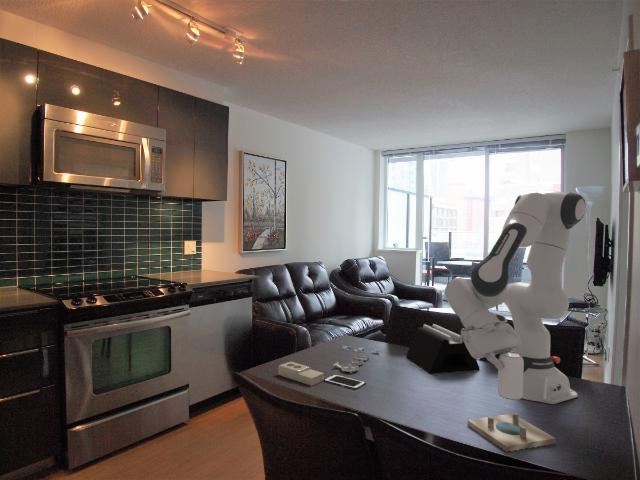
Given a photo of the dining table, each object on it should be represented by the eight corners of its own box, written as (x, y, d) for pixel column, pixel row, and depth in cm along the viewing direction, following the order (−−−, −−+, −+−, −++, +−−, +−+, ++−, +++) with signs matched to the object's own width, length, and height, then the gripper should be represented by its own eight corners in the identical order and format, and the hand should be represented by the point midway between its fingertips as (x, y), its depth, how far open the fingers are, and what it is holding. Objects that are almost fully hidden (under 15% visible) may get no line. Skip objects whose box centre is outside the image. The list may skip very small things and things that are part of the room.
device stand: (450, 355, 195) (451, 323, 195) (479, 371, 173) (480, 335, 173) (406, 358, 190) (406, 325, 190) (430, 374, 168) (430, 337, 168)
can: (497, 398, 117) (498, 355, 116) (497, 389, 123) (498, 349, 122) (523, 402, 114) (524, 358, 114) (522, 393, 120) (523, 351, 120)
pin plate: (511, 418, 129) (512, 405, 129) (555, 443, 113) (555, 429, 113) (467, 424, 124) (467, 411, 124) (506, 452, 109) (506, 437, 109)
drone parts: (304, 367, 178) (304, 360, 178) (340, 348, 209) (340, 342, 209) (354, 374, 167) (354, 366, 167) (384, 353, 198) (384, 346, 198)
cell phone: (334, 376, 166) (334, 374, 166) (366, 384, 157) (366, 382, 157) (322, 382, 159) (322, 379, 159) (356, 390, 151) (356, 388, 151)
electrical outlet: (311, 375, 154) (278, 365, 166) (311, 386, 154) (277, 375, 166) (324, 370, 160) (290, 361, 172) (324, 381, 160) (290, 370, 172)
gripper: (464, 322, 119) (494, 366, 111) (507, 315, 130) (538, 354, 122) (451, 335, 123) (479, 378, 115) (495, 327, 134) (523, 365, 126)
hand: (510, 366), depth 119 cm, fingers closed on can, 6 cm apart
